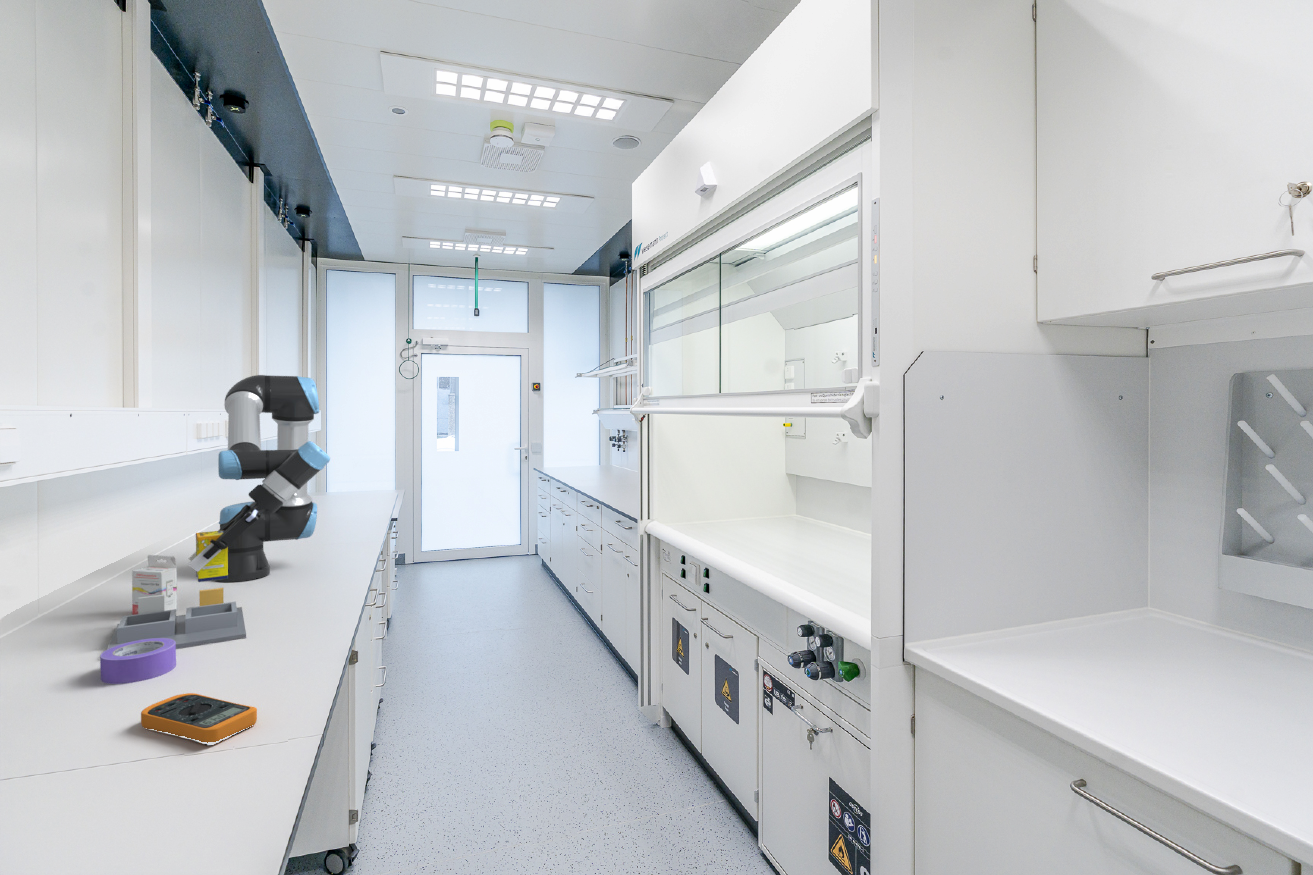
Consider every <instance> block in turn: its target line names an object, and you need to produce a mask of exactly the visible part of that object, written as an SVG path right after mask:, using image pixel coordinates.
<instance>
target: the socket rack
mask: <svg viewBox="0 0 1313 875" xmlns="http://www.w3.org/2000/svg"><path fill="white" fill-rule="evenodd" d="M198 595H199V606H191V607H186V609H185V614H180V615H177V611H176V609H174V610H167V611H165V595H156V596H148V597H139V598H138V614H136V615H132V614H131V615H129V614H128V615H122V617H121V618H120V621H119V623H117V625H116V627H115V629H114V631H113V634H112V637H111V639H110V641H109V643H108V645H107V649H106V650H108V649H110V648H112V647H115V646H118V645H121V644H124V643H128V642H133V641H138V640H144V639H152V638H169V639H173V640H174V641H175V642H176V650H178V649H184V648H189V647H197V646H202V645H204V646H205V645H209V644H210V645H211V644H215V643H221V642H220V641H223V642H229V641H235V640H240V639H239V638H242V639H247V630H246V625H245V619H244V618H245V617H244V611H243V607H242V606H240V607H237V601H228V602H224V587H217V588H208V589H207V588H206V589H200V590H199V594H198Z"/></svg>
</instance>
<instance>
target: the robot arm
mask: <svg viewBox="0 0 1313 875" xmlns="http://www.w3.org/2000/svg"><path fill="white" fill-rule="evenodd" d="M317 389H318V388H317V385H316V382H315V380H314V379H313V378H312V377H305V376H298V375H267V374H256V375H252V376H247V377H245V378H243V379H241V380H240V381H238V382H236V383H235V384H233V386H232V387H231V388H230V389H229V390H228V391H227V392H226V394H225V396H224V397H225V398H224V404H223V406H224V409H225V412H226V413H227V415H228V419H227V420H228V423H227V424H228V426H227V427H228V428H227V450H222V451H219V453H218V459H217V460H218V461H217V462H218V465H217V466H218V477H219V478H220V479H221V480H236V481H239V480H253V479H254V480H256V479H257V480H258V479H263V480H261V481H262V484H257V485H256V486H255V487H254V488H252V489H251V491H249V492H248V497H249V498H250V499H252V501H244V502H240V503H236V504H235V503H234V504H230V505H227V506H225V507H223V508H222V509H221V510H220V513H219V521H218V524H219V529H218V530H217V531H222V530H224V531H225V532H224V533H223V534H222V535H221V536H220V537H219V538H218V539H217V540H215V541H214V540H211V541H210V542H211V544H210V545H208V546H207V547H206V548H205V549H204V550H203V551H202V552H201V553H200V554H198V555H197V556H196V551H195V552H194V553H193V554H192V555H191V556H190V557H188V560H190V561H189V562H188V563H187V566H189V567H190V568H192V569H193V570H195V571H197V572H198V571H199V570H200V569H202V568H203V567H204V566H205V565H206V564H207V563H208V562H209V561H210V560H211V559H213V558H214V557H215V556H216V555H217V554H218V553H219V552H220V551H221V550H222V549H226V548H227V547H228V578H227V579H220V580H214V581H215V582H220V583H221V582H222V583H234V582H238V583H239V582H245V581H246V580H247V581H253V580H257V579H256V578H258V579H260V578H265V577H267V576H269V575H270V573H271V567H270V563H269V561H268V559H267V556H266V553H265V551H264V543H265V542H277V541H290V540H291V541H292V540H296V541H298V540H301V539H308V538H310V537H312V536H313V534H314V532H315V529H316V524H317V518H318V515H317V514H318V504H317V503H315V502H313V497H311V496H310V495H309V494H308V482H310V480H312V478H314V476H316V475H317V474H318V473H319V472H320V471H322V470H323V469H325V467H326V466H327V464H328V463H330V461H331V457H330V455H329V454H328V453H326V451H324V450H323V449H322V448H321V447H320V446H318V445H317V444H316V443H315V442H314V441H310V440H309V424H311V422H313V420H314V421H315V415H318V414H319V413H320V404H319V403H320V402H319V395H318V390H317ZM262 413H264V414H271V419H272V420H273V421H274V422H275V423H276V424H277V439H276V440H277V443H276V444H277V445H276V447H277V449H262V444H261V442H262V441H261V440H262V438H261V421H260V420H261V419H260V418H261V417H260V414H262ZM252 579H253V580H252ZM247 581H246V582H247Z"/></svg>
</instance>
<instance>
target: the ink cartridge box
mask: <svg viewBox="0 0 1313 875" xmlns="http://www.w3.org/2000/svg"><path fill="white" fill-rule="evenodd" d="M160 560H163V561H161V562H160ZM176 560H177V558H176V557H175V556H173V555H172V556H171V555H156V554H155V555H152V554H148V555H147V563H148V564H147V565H148V566H144V567H141V568H136V569H131V576H132V577H131V578H132V581H131V588H132V589H131V591H132V592H131V597H132V598H131V599H132V602H131V603H132V604H131V606H132V607H131V610H132V612H131V615H136V614H138V598H139V597H148V596H156V595H165V611H167V610H174V609H176V612H178V583H177V582H178V580H177V578H178V577H177V576H178V573H177V571H178V568H177V563H176V562H177V561H176ZM165 561H166V562H165Z"/></svg>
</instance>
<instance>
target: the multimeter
mask: <svg viewBox="0 0 1313 875" xmlns="http://www.w3.org/2000/svg"><path fill="white" fill-rule="evenodd" d="M257 722H258V709H257V707H255V706H252V705H246V704H240V703H236V702H232V701H227V700H222V699H218V698H215V697H211V696H207V695H202V694H199V693H194V692H190V693H188V692H187V693H181V694H176V695H173V696H170V697H168V698H165V699H162V700H160V701H157V702H155V703H152V704H151V705H149V706H147V707H144V708H143V709H142V711H141V712H140V723H141V726H142V728H143V727H144V728H147V729H154V730H157V731H162V732H168V733H171V734H175V735H178V736H185V737H187V738H191V739H195V740H199V741H201V742H207V743H208V742H216V741H219V740H220V739H223V738H225V737H227V736H230V735H232V734H234V733H236V732H239V731H241V730H243V729H246V728H248V727H250V726H252V725H256V723H257ZM252 727H253V726H252ZM144 728H143V729H144Z"/></svg>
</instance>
